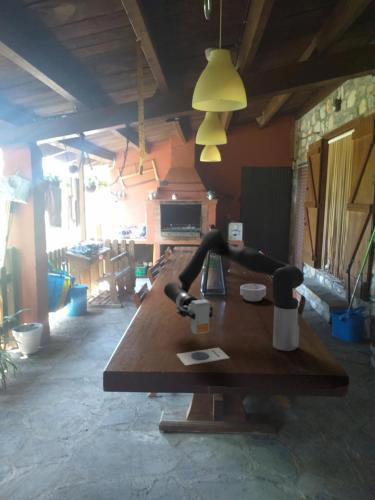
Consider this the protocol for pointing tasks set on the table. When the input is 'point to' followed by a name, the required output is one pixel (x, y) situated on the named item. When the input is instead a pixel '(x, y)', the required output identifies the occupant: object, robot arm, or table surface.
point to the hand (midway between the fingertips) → (202, 315)
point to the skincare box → (200, 316)
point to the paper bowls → (253, 292)
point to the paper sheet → (202, 356)
